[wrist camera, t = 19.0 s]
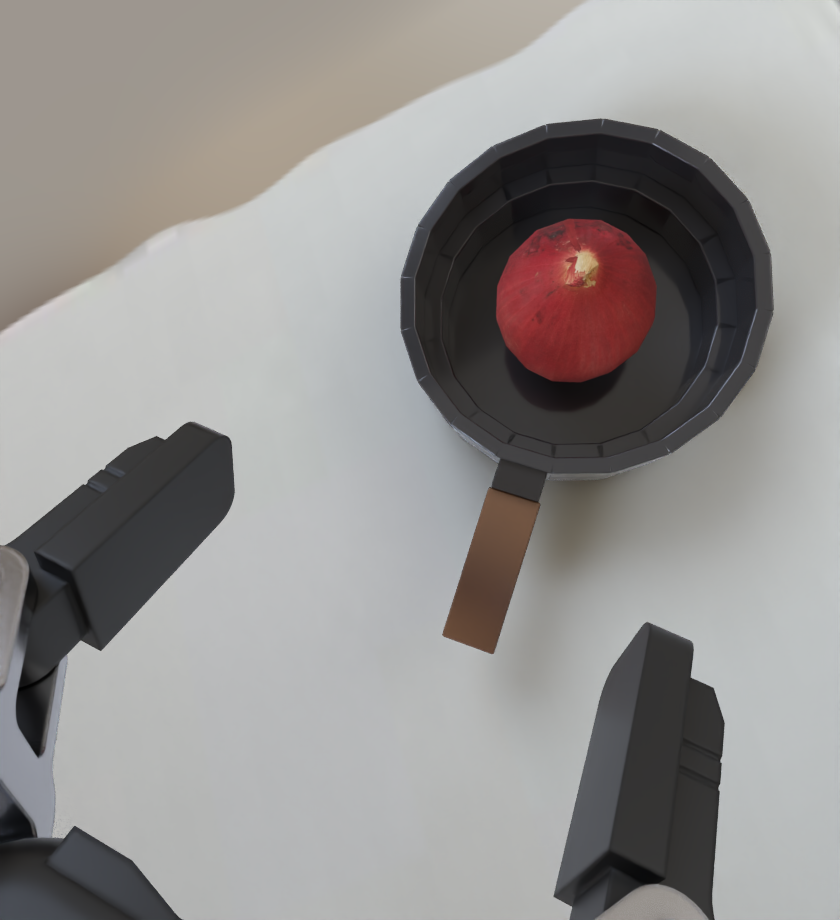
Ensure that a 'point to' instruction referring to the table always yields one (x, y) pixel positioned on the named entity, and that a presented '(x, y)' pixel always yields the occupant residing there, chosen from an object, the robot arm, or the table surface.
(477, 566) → the pan handle
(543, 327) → the onion
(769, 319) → the pan
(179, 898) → the table surface
